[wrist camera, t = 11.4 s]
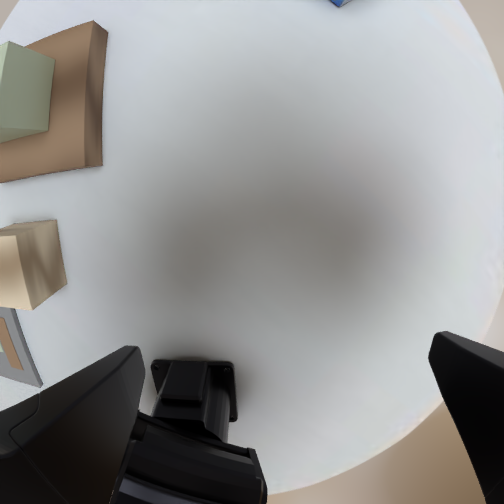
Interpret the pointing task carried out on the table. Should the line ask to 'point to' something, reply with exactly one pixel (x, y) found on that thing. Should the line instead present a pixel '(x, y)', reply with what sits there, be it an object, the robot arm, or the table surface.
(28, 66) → the sage cube
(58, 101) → the walnut block
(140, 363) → the robot arm
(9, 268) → the birch cube
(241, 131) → the table surface
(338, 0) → the medicine box
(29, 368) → the slate card
